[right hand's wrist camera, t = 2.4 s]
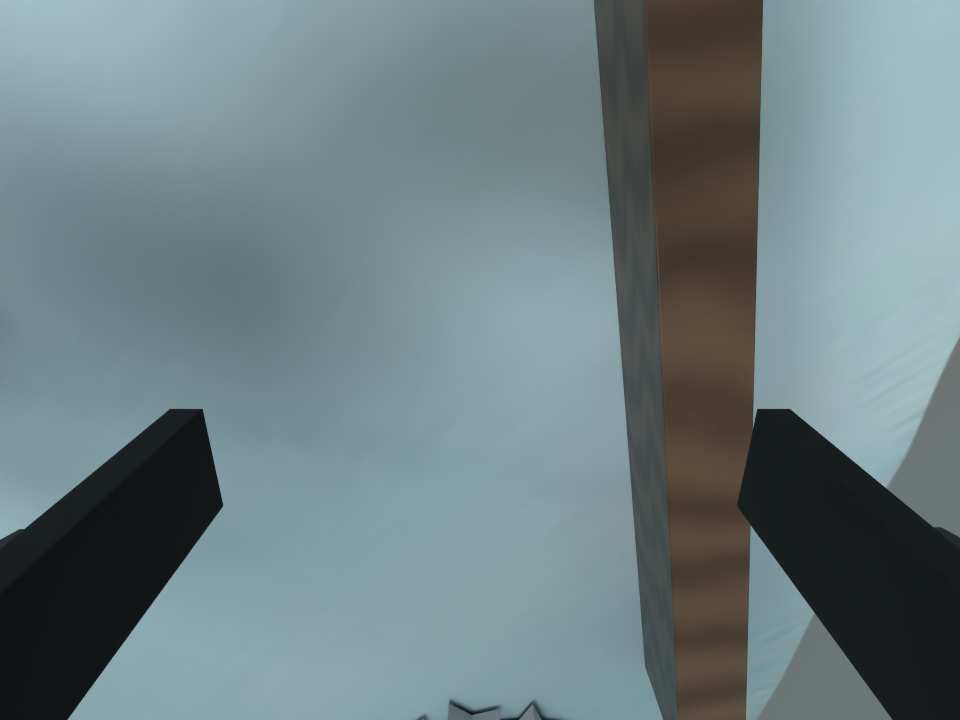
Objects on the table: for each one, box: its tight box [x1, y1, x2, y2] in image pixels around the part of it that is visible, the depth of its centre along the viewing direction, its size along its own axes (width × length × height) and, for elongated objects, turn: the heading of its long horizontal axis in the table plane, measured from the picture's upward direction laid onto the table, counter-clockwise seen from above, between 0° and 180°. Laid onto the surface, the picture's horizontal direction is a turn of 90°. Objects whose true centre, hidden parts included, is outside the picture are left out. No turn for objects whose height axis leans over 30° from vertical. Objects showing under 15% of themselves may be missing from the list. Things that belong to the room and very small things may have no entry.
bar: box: [594, 0, 763, 720], centre depth 26 cm, size 79×4×8 cm, turn 10°
